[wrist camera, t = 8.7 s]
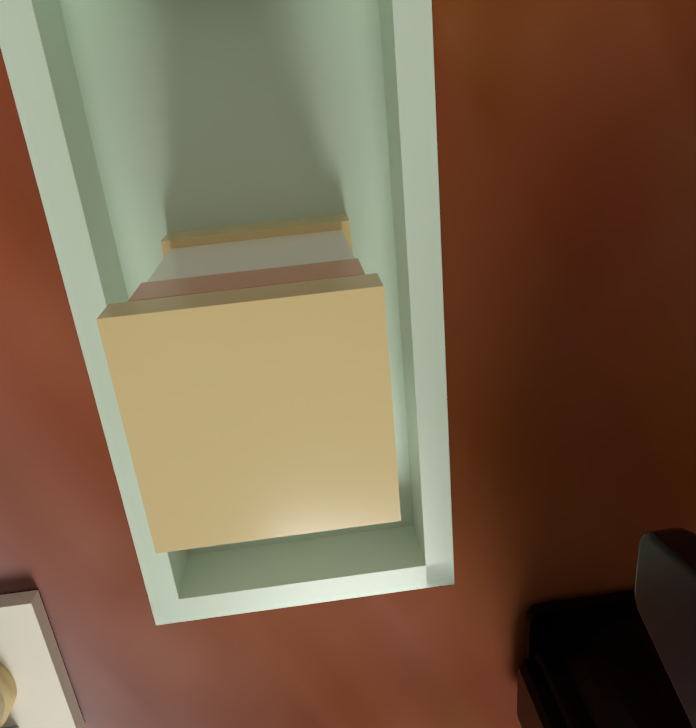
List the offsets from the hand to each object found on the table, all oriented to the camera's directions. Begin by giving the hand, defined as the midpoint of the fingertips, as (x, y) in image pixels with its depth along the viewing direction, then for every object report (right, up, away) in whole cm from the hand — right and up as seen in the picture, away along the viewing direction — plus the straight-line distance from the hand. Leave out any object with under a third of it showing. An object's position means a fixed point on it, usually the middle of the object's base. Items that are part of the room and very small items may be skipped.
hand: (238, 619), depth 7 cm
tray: (-1, +4, +11) cm, 12 cm away
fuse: (-1, +4, +10) cm, 11 cm away
